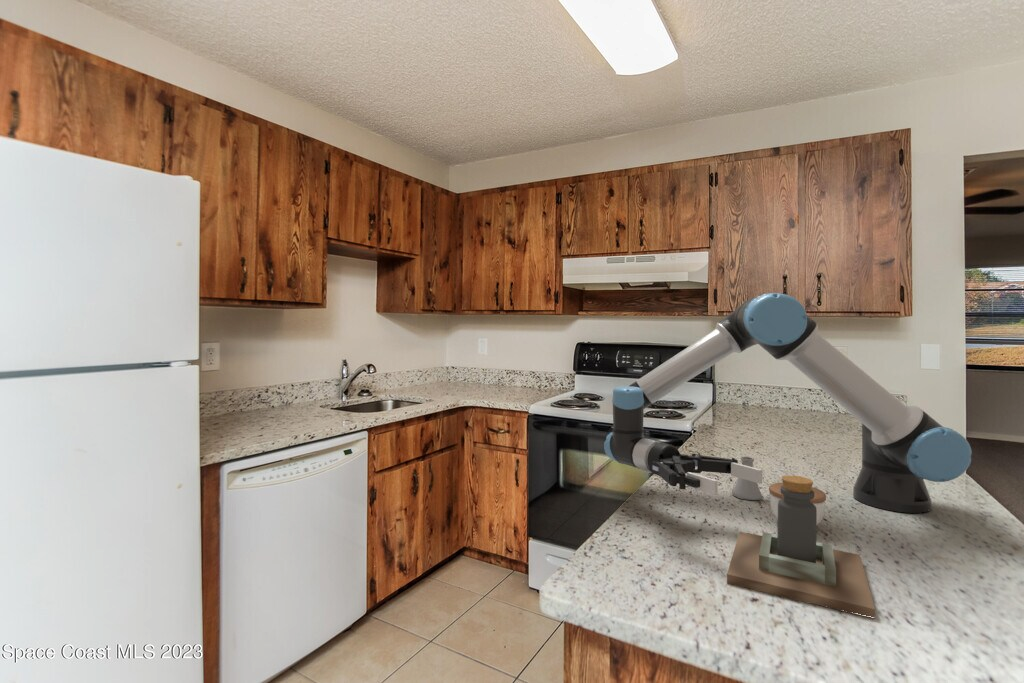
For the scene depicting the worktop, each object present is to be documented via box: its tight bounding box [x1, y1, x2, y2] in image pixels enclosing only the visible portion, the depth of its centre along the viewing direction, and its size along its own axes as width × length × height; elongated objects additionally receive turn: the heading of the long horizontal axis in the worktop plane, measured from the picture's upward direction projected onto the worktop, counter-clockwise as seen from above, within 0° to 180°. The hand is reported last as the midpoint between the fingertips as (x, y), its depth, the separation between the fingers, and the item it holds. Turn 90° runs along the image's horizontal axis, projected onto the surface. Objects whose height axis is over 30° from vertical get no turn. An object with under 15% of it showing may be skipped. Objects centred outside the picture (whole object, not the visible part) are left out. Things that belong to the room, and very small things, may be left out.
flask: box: [731, 455, 763, 501], centre depth 123 cm, size 7×7×10 cm
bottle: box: [777, 474, 817, 563], centre depth 84 cm, size 6×6×15 cm
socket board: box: [726, 531, 876, 618], centre depth 84 cm, size 20×20×4 cm
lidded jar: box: [768, 482, 827, 526], centre depth 104 cm, size 11×11×9 cm
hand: (739, 482), depth 93 cm, fingers open, 13 cm apart
